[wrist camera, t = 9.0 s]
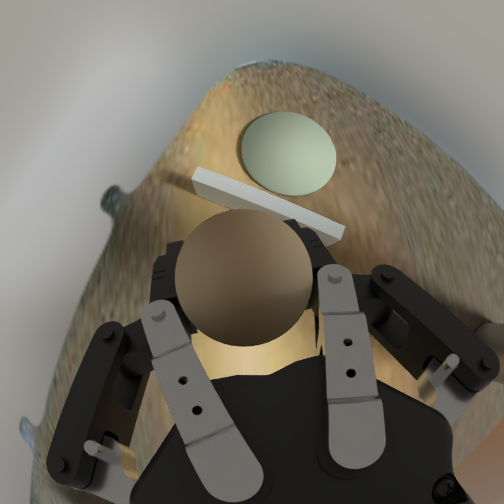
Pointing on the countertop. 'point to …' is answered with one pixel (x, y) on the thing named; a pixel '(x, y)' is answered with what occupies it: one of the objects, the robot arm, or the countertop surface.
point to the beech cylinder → (243, 277)
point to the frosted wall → (262, 203)
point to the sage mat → (288, 154)
